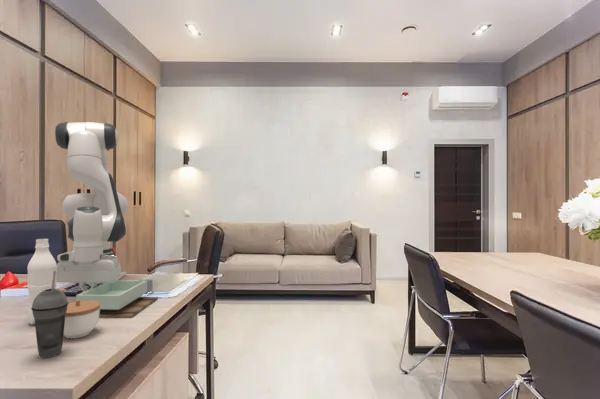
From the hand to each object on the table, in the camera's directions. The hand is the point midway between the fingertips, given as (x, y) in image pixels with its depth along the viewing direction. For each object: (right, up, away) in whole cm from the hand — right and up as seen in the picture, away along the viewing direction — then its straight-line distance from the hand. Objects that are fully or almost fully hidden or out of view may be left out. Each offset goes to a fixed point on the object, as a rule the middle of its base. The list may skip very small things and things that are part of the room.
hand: (88, 295), depth 120 cm
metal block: (+11, -4, +17) cm, 21 cm away
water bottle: (-5, -5, -14) cm, 16 cm away
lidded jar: (+11, -5, -23) cm, 26 cm away
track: (+10, -4, 0) cm, 10 cm away
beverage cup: (+12, -5, -35) cm, 37 cm away
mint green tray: (+9, -3, 0) cm, 9 cm away
